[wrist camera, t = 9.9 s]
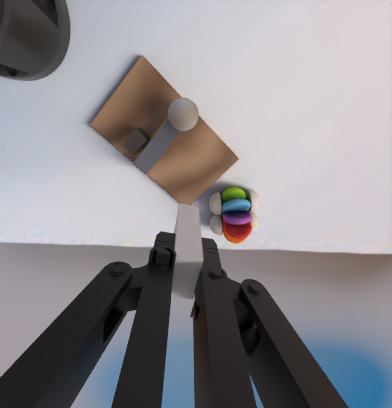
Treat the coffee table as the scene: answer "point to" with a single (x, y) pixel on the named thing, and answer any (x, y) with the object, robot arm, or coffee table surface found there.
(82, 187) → the coffee table surface
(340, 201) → the coffee table surface
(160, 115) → the board
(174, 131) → the bar
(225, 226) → the multicolored petal toy
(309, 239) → the coffee table surface
